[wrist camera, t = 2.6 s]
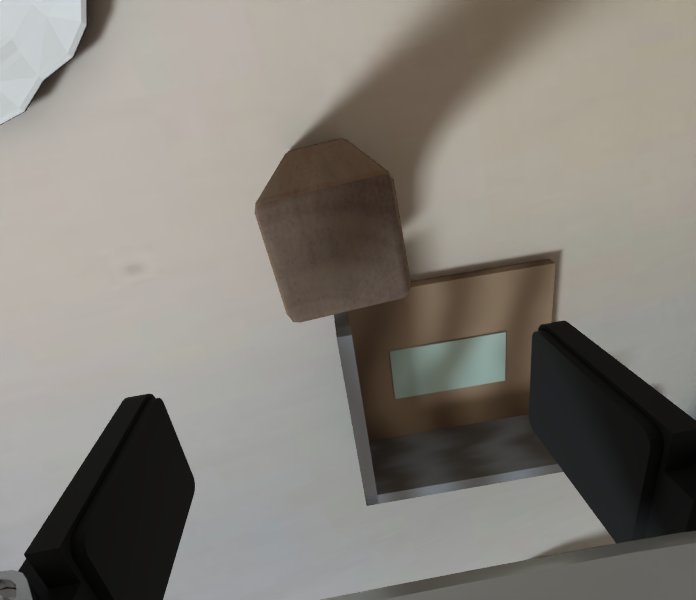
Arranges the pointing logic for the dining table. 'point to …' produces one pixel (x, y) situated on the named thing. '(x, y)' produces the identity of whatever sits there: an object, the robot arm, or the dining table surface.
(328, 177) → the wooden block
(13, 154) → the dining table surface
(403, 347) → the tray
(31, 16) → the plate
